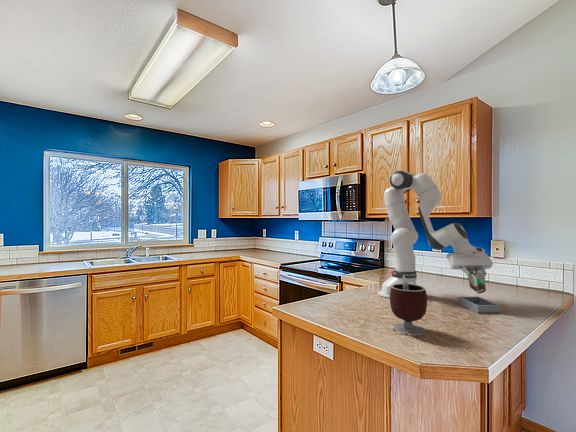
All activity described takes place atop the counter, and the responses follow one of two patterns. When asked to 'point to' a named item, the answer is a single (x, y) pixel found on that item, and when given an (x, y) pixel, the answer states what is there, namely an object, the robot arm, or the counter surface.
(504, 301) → the counter surface
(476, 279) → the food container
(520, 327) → the counter surface
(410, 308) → the mate gourd
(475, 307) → the tray
